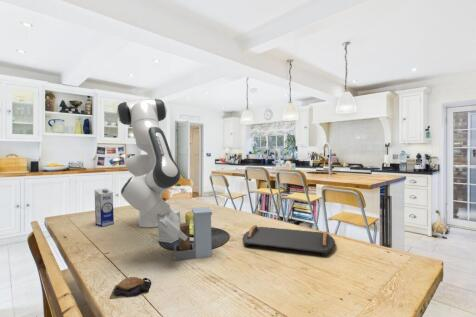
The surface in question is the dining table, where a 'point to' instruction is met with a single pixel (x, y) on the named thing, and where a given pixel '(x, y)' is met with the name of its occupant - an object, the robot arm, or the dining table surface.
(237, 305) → the dining table surface
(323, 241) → the serving board
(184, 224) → the walnut block
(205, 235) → the pale blue tower
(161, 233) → the supplement box
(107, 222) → the milk carton
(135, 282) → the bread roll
